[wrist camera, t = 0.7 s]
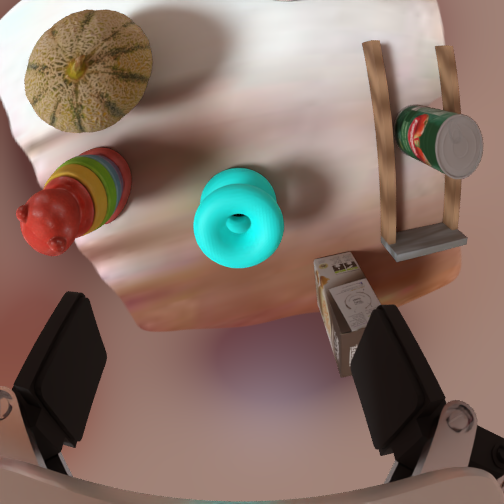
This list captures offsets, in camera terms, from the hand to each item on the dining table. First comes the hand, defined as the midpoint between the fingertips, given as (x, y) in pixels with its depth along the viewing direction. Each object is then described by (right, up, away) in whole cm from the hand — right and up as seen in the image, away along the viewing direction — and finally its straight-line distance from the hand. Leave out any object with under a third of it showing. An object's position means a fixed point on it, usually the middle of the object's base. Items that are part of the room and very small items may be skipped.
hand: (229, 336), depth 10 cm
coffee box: (+14, -2, +39) cm, 42 cm away
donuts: (-1, +10, +32) cm, 34 cm away
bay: (+24, +18, +28) cm, 42 cm away
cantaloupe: (-17, +26, +22) cm, 38 cm away
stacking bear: (-20, +13, +29) cm, 38 cm away
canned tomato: (+24, +20, +28) cm, 42 cm away
